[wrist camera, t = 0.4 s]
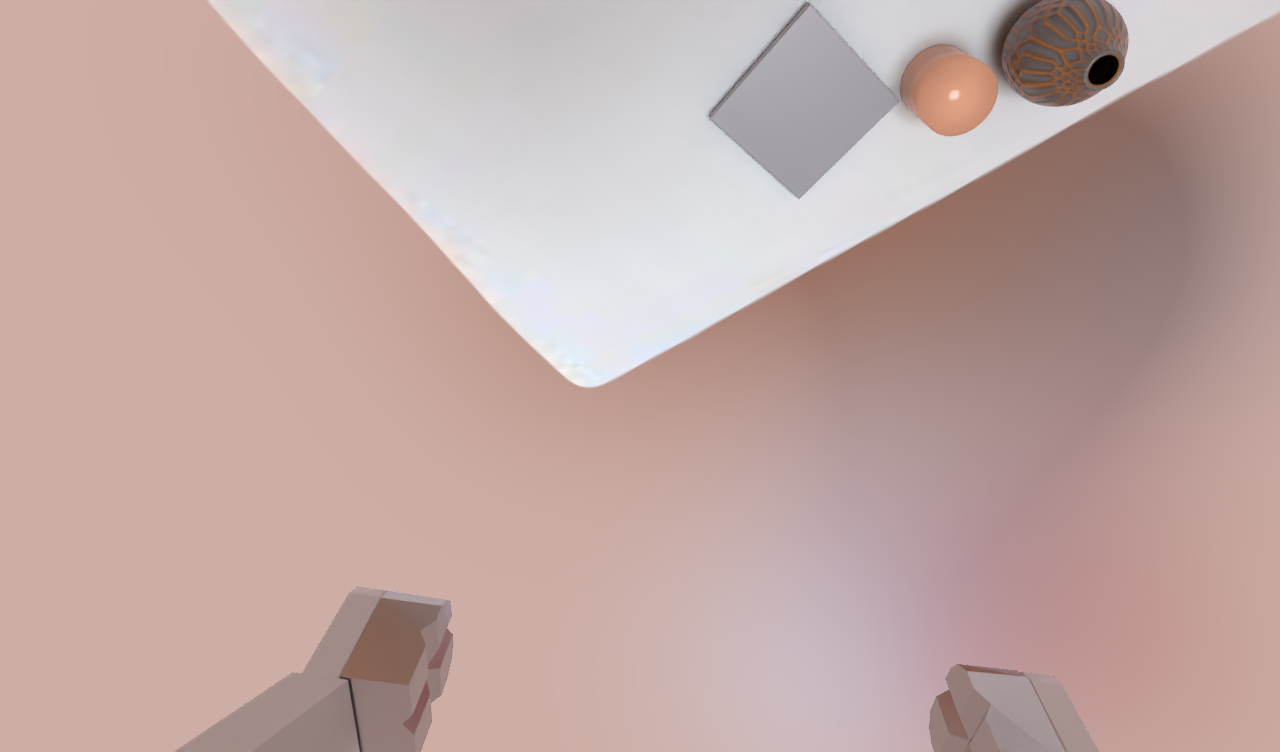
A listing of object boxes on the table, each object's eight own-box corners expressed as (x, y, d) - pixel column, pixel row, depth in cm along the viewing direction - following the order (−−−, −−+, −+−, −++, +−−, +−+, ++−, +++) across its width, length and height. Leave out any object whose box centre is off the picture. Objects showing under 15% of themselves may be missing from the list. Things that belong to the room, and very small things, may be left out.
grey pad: (807, 2, 47) (810, 4, 47) (895, 97, 51) (899, 101, 51) (708, 115, 52) (710, 119, 51) (796, 194, 56) (799, 199, 55)
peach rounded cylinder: (943, 28, 49) (971, 44, 45) (982, 76, 51) (1012, 94, 47) (886, 85, 51) (908, 104, 47) (926, 128, 53) (950, 150, 49)
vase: (1098, 50, 50) (1175, 83, 43) (1004, 108, 52) (1062, 147, 45) (1073, -38, 46) (1152, -18, 39) (974, 28, 49) (1032, 58, 42)
